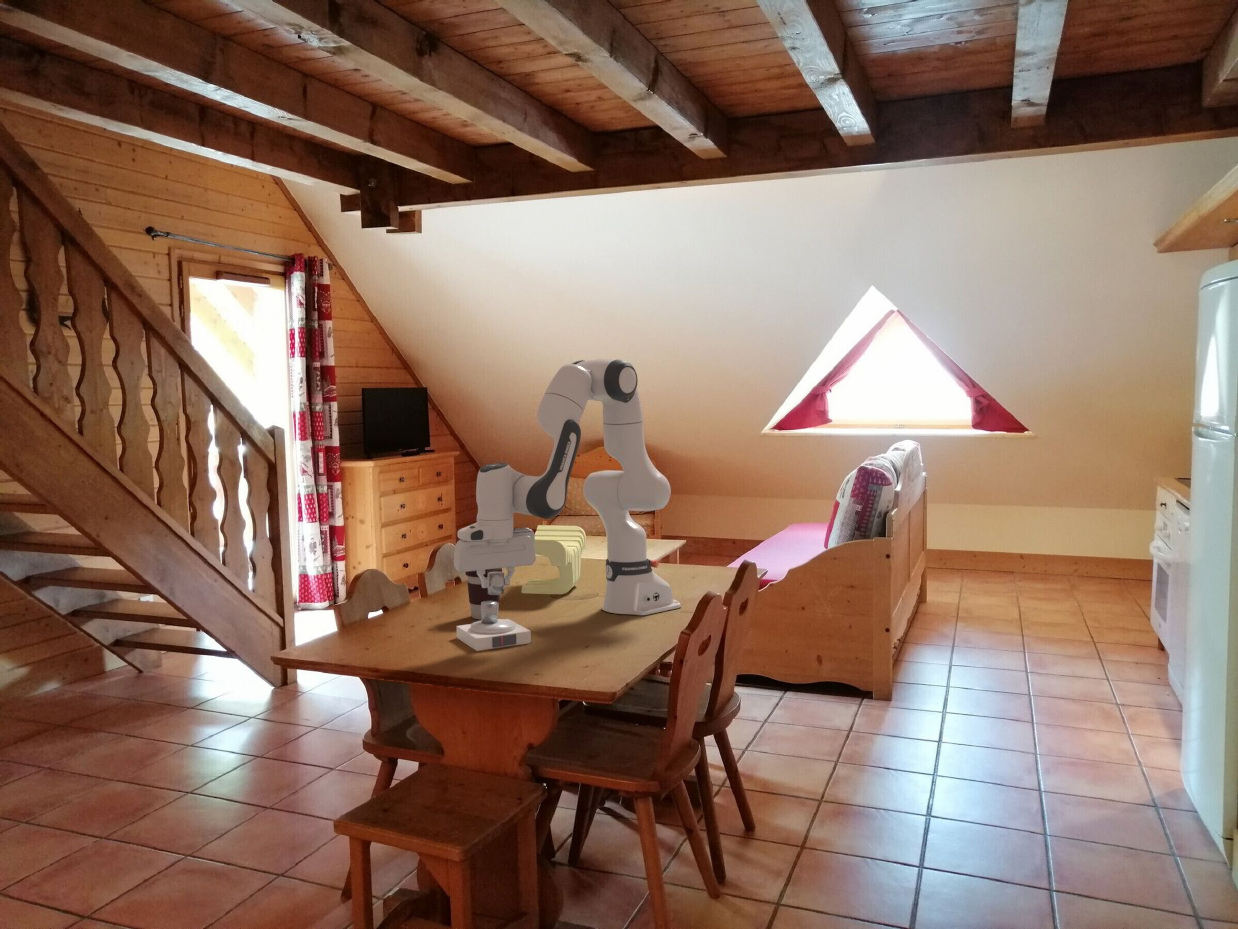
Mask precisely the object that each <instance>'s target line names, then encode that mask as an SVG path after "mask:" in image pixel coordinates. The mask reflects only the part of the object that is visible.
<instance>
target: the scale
mask: <svg viewBox="0 0 1238 929" xmlns="http://www.w3.org/2000/svg"><path fill="white" fill-rule="evenodd" d="M531 633H532V631H531V630H529V629H528V628H526V627H524V626H522V625H521V624H519V623H517V622H515V621H513V620H512V619H509V618H505V619H504V618H498V622H497V623H495V624H482V623H481V620H477V621H474V622H472V623H470V624H462V625H456V638H457V639H458V640H460V641H461V642H463V643H464V644H465V645H467V646H468V647H470V648H471V649H473V650H475V652H478V651H479V652H480V651H487V650H492V649H493V650H495V649H500V648H506V647H507V648H508V647H513V646H519V645H525V644H532V637H531V635H532V634H531Z"/></svg>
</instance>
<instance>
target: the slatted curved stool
mask: <svg viewBox="0 0 1238 929" xmlns="http://www.w3.org/2000/svg"><path fill="white" fill-rule="evenodd" d="M534 534H535V541H534V547H535V555H536V556H541V557H545V558H547V559H548V560H549V562H550V565H551V567H557V569H558V573H559V574H558V575H559V577H554V578H542V579H541V578H540V579H539V578H536V579H535V578H532V579H530V580H528V581H527V582H526V583H524V584H523V585H522V587H521V594H539V595H540V594H542V595H564V594H567V593H568V592H569V591H570V590H572V588H574V586H576V585H577V584H578V583H579V581H580V579H581V570H582V568H581V566H582V565H581V564H582V554H583V552H584V550H586V549H587V536H586V532H585V530H584V529H583V527H580V526H578V525H557V524H556V525H555V524H554V525H551V524H549V525H548V524H545V525H541V524H538V525H537V528H536V531H535V532H534Z"/></svg>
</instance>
